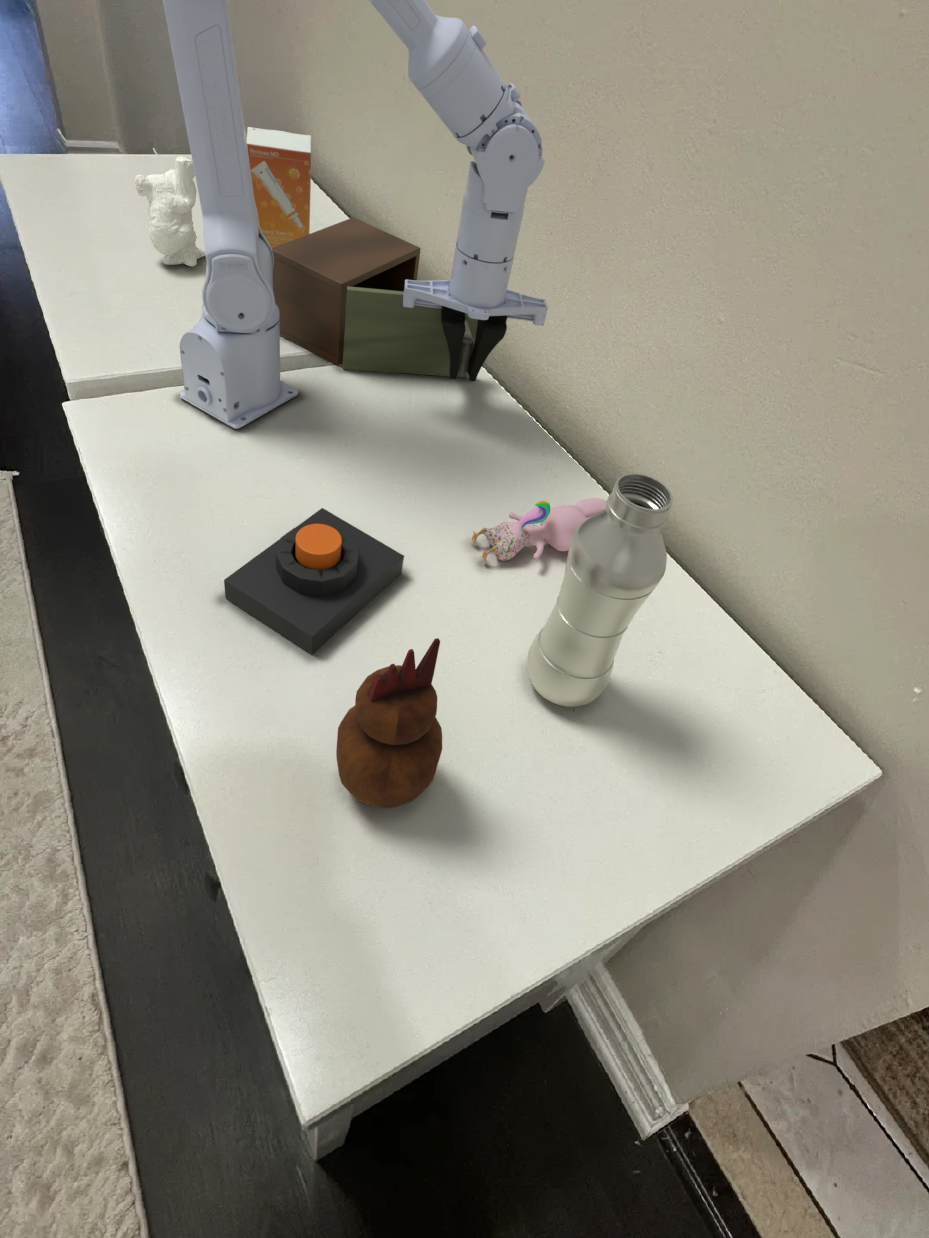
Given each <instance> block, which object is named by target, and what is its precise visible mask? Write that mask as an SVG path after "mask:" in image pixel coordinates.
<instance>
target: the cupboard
mask: <svg viewBox="0 0 929 1238" xmlns="http://www.w3.org/2000/svg"><path fill="white" fill-rule="evenodd" d="M272 251H273V255H274V267H273V293H274V298H275V304H276V305H277V306H278V308H279V312H280V337H282V338H284V339H285V340H288V341H290V342H291V343H293V344H296V346H299V347H301V348H303V349H305V350H307V351H309V352H311V353H313V354H314V355H317V356H319V357H320V358H322V359H324V360H326V361H328V362H329V363H332V364H334V365H336V366H338V367H339V366H340V365H343V349H344V331H345V313H346V295H347V286H349V287H360V288H371V289H382V290H392V291H403V292H404V286H405V280H415V281H418V275H419V274H418V273H419V266H420V257H421V247H420V246H418V245H415V244H413V243H411V242H409V241H406V240H405V239H402V238H401V237H398V236H396V235H394V234H391V233H389V232H387V231H385V230H382V229H381V228H378V227H376V226H373V225H372V224H369V223H367V222H364V221H363V220H360V219H358V218H356V217H354V216H352V217H351V218H348V219H345V220H342V221H340V222H338V223H335V224H332V225H330V226H327V227H324V228H322V229H319V230H317V231H314V232H311V233H309V234H308V235H306V236H303V237H300V238H298V239H295V240H292V241H290V242H287V243H284V244H282V245H279V246H277V247H274V248H272Z"/></svg>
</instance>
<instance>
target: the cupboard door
mask: <svg viewBox="0 0 929 1238" xmlns="http://www.w3.org/2000/svg"><path fill="white" fill-rule="evenodd" d="M403 295H404V292H403V291H392V290H382V289H371V288H360V287H349V286H347V295H346V313H345V331H344V349H343V363H342V369H343V370H352V371H353V370H354V371H366V372H367V371H368V372H383V373H394V374H395V373H396V374H413V375H426V376H439V377H440V376H441V377H450V372H449V368H450V354H449V349H448V344H447V340H446V337H445V334H444V331H443V327H442V323H441V309H439V308H432V307H424V306H417V305H414V307H413V308H409V307H403ZM477 323H478V319H472V318H470V317H468V314H467V313H465V330H466V331H465V334H464V338H463V342H462V346H461V351H460V357H459V367H458V375H457V378H469V375H468V369H469V364H470V359H471V354H472V350H473V346H474V342H475V337H476V330H477Z"/></svg>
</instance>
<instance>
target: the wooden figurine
mask: <svg viewBox="0 0 929 1238" xmlns="http://www.w3.org/2000/svg"><path fill="white" fill-rule="evenodd" d="M440 645H441V640H440V638H438V637H437V638H434V640H433V641H432V643H431V644H430V646H429V647H428V649H427V650H426V652H425V653H424V655H423V657H422V659H421V660H420V662H419V663H418V665H417V666H416V659H415V658H416V657H415V656H416V655H415V650H414V649H413V648H410V649H408V650H407V653H406V655H405V657H404V660H403V663H402V664H399V665H396V664H395V663H391V664H390V665H389V666H385V667H382V668H379V669H377V670H375V671H374V672H372V673H370V674H369V675H367V676H366V677H365V679H364V681H362V682H361V685H360V686H359V687H358V689H357V690H356V693H355V702H354V706H352V707H350V708H349V709H348V710H347V711H346V713H345V715H344V717H343V718H342V720H340V723H339V725H338V727H337V737H336V748H335V749H336V752H335V754H336V756H335V757H336V764H337V771H338V775H339V779H340V782H341V785H343V787H344V788H345V789H346V790H347V792H348V793H349V794H350V795H351V796H352V797H353V798H354V799H355V800H357V801H358V802H361V803H363V804H365V805H367V806H370V807H375V808H382V809H384V808H385V809H386V808H396V807H400V806H402V805H405V804H408V803H411V802H413V801H414V800H416V799H418V797H420V795H421V794H423V793H424V792H425V791H426V790H427V789H428V788H429V786H430V785H431V784H432V783H433V781H434V779H435V775H436V773H437V769H438V765H439V762H440V759H441V755H442V751H443V731H442V726H441V724H440V722H439V721H438V718H437V711H438V694H437V691H436V689H435V687H434V685H433V684H432V683H433V679H434V675H435V670H436V665H437V660H438V655H439V650H440Z"/></svg>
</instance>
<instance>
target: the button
mask: <svg viewBox="0 0 929 1238" xmlns="http://www.w3.org/2000/svg"><path fill="white" fill-rule="evenodd" d="M341 544H342V539H341V536H340V534H339V532H338V531H337V530H336V529H334V528H333V527H331V526H328V525H324V524H310V525H307V526H305V527H303V528H301V529H300V530H299V531H298V533H297V534H296V548H295V555H296V558H297V560H298V561H299V563H300V564H301V565H303V566H305V567H307V568H309V569H314V570H325V569H329V568H331V567H333V566H335V565H336V564H337V563H338V562H339V560H340V557H341Z"/></svg>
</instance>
